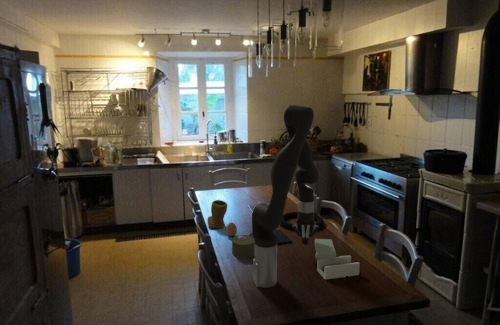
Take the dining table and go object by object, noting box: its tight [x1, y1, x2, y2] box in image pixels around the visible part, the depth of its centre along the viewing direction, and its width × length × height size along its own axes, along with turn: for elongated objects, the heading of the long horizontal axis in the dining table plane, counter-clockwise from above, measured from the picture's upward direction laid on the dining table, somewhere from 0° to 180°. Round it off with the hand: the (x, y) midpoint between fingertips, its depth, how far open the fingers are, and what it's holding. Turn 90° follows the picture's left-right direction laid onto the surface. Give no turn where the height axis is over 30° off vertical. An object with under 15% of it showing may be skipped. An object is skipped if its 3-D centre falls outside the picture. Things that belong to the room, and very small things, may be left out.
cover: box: [314, 238, 337, 260], centre depth 162 cm, size 17×9×2 cm, turn 174°
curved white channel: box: [316, 255, 361, 280], centre depth 154 cm, size 16×8×6 cm, turn 104°
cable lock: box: [279, 211, 325, 232], centre depth 216 cm, size 28×4×30 cm
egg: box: [225, 221, 238, 237], centre depth 194 cm, size 6×6×8 cm
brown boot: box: [206, 199, 228, 229], centre depth 211 cm, size 15×12×15 cm
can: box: [231, 234, 255, 259], centre depth 174 cm, size 12×12×7 cm
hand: (304, 244), depth 168 cm, fingers closed
